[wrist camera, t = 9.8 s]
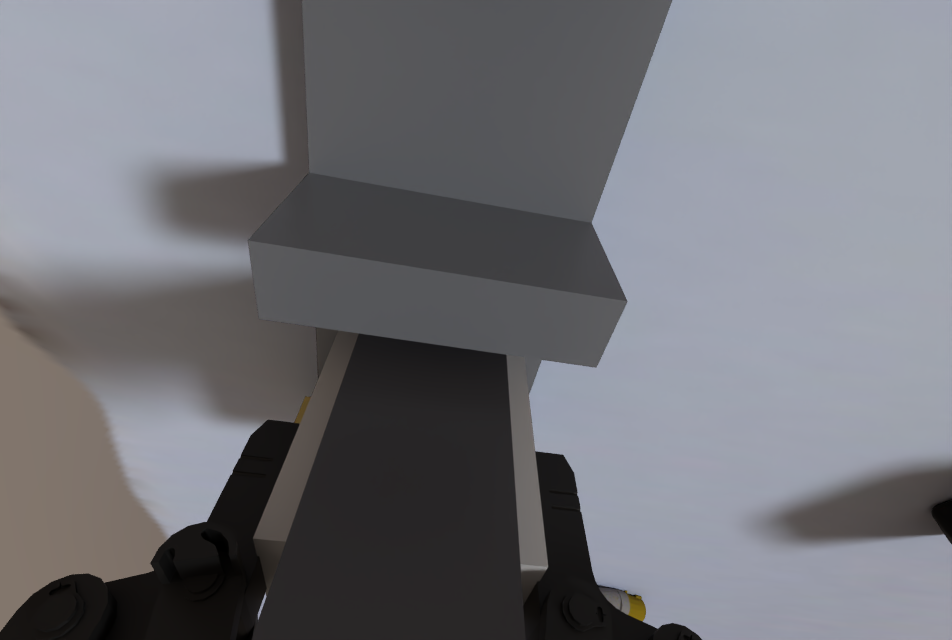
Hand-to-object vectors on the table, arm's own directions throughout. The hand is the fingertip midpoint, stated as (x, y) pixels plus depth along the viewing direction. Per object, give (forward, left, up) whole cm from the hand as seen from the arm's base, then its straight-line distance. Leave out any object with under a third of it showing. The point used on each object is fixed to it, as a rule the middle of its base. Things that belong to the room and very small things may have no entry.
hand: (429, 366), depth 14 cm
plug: (0, 0, -1) cm, 1 cm away
